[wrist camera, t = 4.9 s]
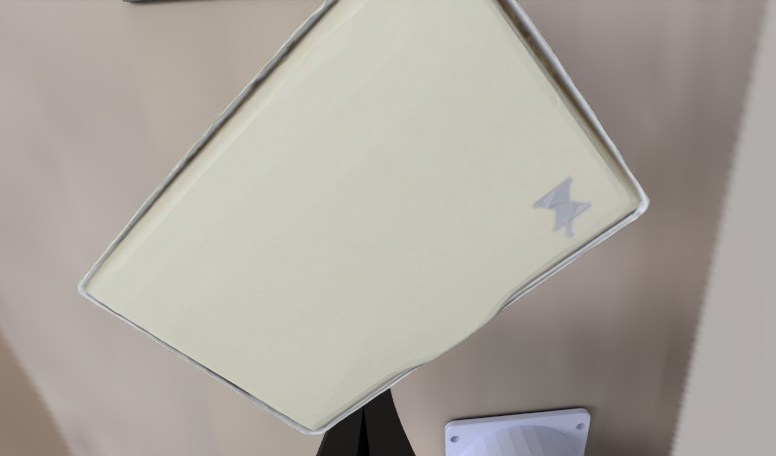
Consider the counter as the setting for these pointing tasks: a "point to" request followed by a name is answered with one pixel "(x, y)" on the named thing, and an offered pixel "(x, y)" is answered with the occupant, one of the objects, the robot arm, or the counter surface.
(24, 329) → the counter surface
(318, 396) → the skincare box
